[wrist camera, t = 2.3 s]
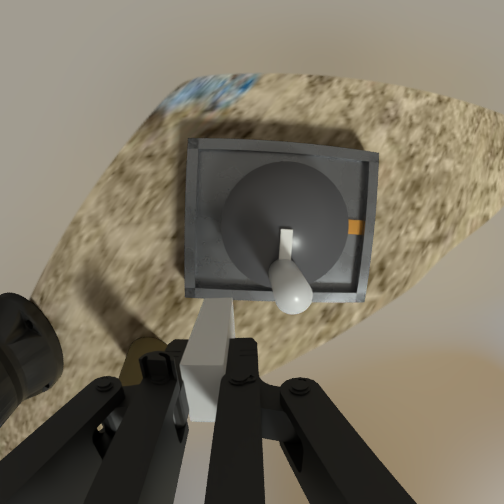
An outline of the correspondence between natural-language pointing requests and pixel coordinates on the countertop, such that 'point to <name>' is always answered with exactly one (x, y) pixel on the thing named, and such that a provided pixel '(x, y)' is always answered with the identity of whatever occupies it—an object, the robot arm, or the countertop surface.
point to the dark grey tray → (224, 180)
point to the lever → (285, 229)
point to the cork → (131, 365)
